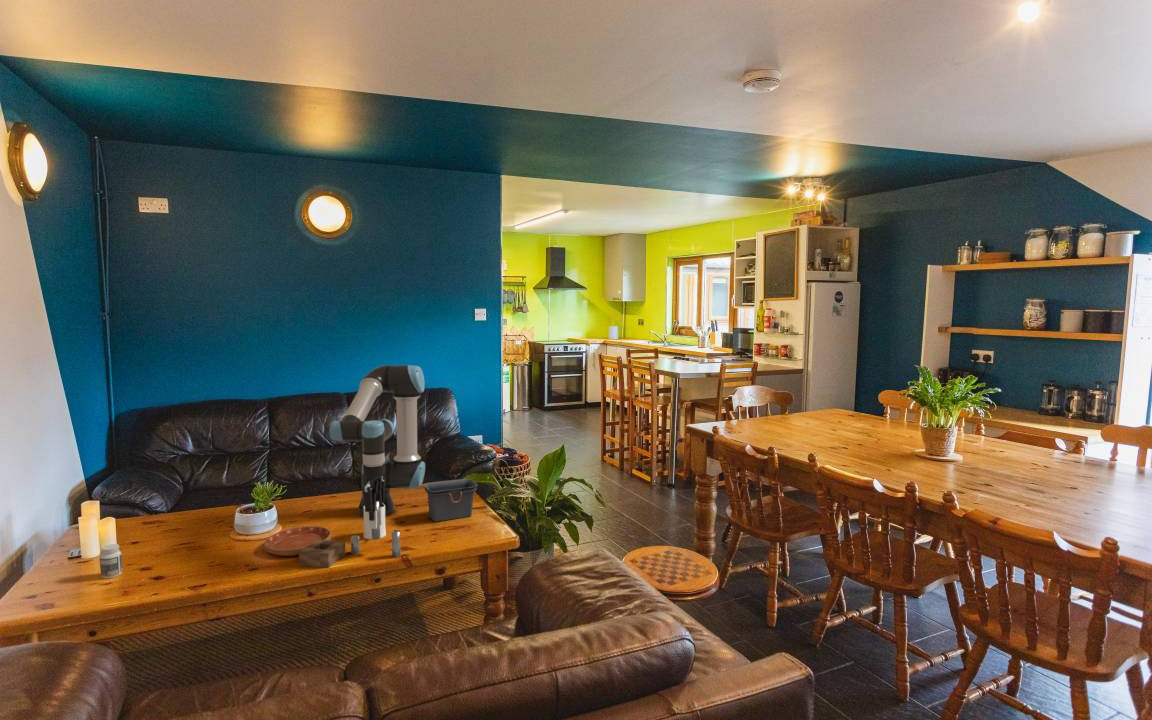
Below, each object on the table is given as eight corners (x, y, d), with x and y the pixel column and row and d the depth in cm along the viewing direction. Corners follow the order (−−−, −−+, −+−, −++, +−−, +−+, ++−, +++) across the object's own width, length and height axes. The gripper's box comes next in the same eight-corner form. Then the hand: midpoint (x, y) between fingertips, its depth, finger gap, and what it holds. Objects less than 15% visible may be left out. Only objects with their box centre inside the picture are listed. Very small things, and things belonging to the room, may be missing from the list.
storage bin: (470, 508, 268) (469, 477, 267) (481, 519, 255) (481, 486, 253) (422, 515, 258) (422, 483, 257) (431, 527, 245) (431, 493, 243)
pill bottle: (108, 571, 201) (107, 543, 201) (126, 571, 202) (125, 543, 201) (96, 579, 196) (94, 550, 195) (115, 579, 196) (113, 549, 195)
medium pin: (394, 553, 219) (393, 529, 218) (402, 554, 218) (401, 530, 217) (390, 557, 216) (390, 532, 215) (398, 557, 215) (397, 533, 215)
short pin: (353, 550, 221) (353, 534, 220) (361, 551, 221) (360, 535, 220) (349, 553, 218) (349, 538, 217) (357, 554, 218) (356, 538, 217)
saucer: (254, 561, 212) (254, 551, 211) (276, 536, 234) (276, 527, 234) (322, 557, 215) (322, 547, 215) (337, 533, 238) (337, 524, 237)
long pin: (374, 536, 220) (373, 499, 218) (381, 536, 220) (380, 500, 218) (370, 539, 217) (369, 502, 215) (377, 540, 217) (376, 503, 215)
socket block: (317, 552, 219) (317, 539, 218) (345, 554, 217) (345, 541, 217) (299, 565, 208) (299, 551, 208) (328, 567, 206) (328, 554, 206)
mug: (386, 541, 230) (385, 511, 229) (362, 543, 227) (362, 513, 226) (386, 530, 241) (385, 501, 240) (363, 532, 238) (363, 503, 237)
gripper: (374, 457, 223) (376, 517, 226) (352, 469, 208) (354, 534, 210) (393, 458, 222) (395, 518, 225) (373, 471, 207) (374, 535, 209)
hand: (375, 526), depth 218 cm, fingers closed on long pin, 3 cm apart
